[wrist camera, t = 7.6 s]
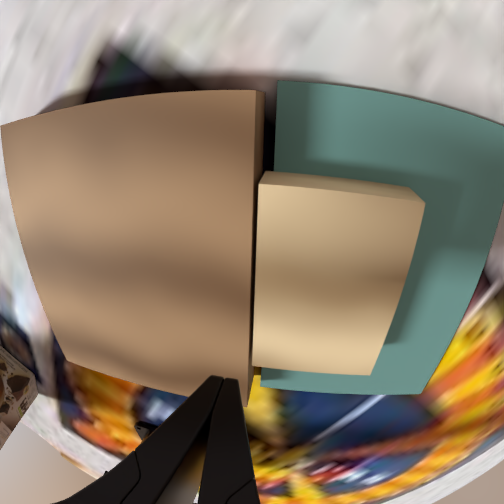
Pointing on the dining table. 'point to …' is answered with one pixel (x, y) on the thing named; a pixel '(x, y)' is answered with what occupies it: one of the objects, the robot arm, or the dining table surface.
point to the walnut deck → (145, 231)
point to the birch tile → (329, 270)
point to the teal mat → (433, 221)
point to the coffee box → (14, 393)
